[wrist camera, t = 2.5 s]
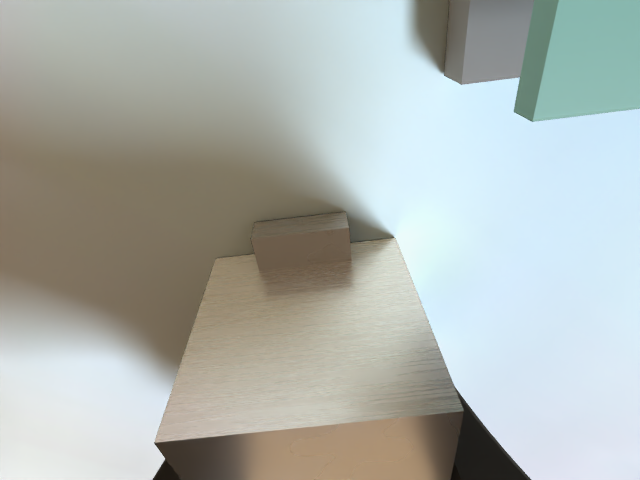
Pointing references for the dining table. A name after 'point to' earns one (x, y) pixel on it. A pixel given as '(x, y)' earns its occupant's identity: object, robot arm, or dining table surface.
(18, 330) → the dining table surface
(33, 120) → the dining table surface
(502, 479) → the robot arm
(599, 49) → the stand
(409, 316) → the block
